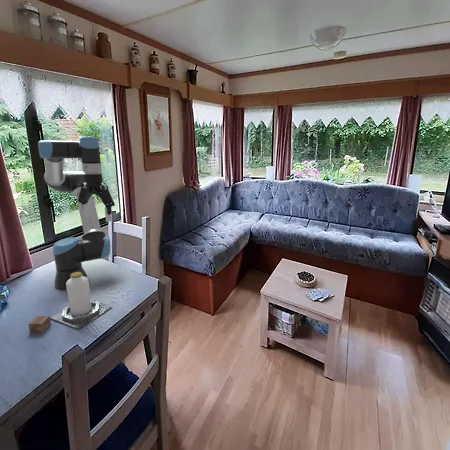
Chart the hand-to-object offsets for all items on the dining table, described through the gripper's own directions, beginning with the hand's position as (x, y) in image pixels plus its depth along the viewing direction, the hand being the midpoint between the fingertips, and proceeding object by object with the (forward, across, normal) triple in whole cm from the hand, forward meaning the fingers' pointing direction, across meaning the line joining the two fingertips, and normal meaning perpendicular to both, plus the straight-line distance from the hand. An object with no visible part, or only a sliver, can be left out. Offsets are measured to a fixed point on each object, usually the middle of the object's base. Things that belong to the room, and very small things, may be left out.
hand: (97, 219), depth 127 cm
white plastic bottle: (+36, +6, -19) cm, 41 cm away
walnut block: (+37, 0, -33) cm, 50 cm away
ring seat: (+37, +6, -19) cm, 42 cm away
